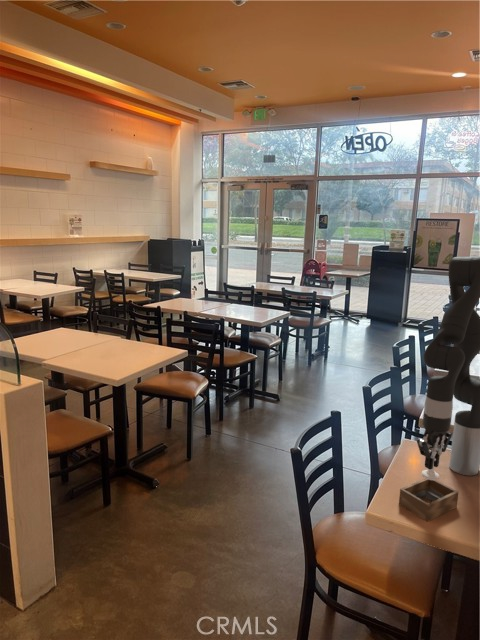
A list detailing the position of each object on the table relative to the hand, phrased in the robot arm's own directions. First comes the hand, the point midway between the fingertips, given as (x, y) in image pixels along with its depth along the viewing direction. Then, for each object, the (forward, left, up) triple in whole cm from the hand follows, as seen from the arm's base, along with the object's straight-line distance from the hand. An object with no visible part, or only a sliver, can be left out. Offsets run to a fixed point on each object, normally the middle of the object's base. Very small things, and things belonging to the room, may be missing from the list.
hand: (431, 466), depth 137 cm
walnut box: (0, 0, -13) cm, 13 cm away
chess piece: (0, 0, -3) cm, 3 cm away
